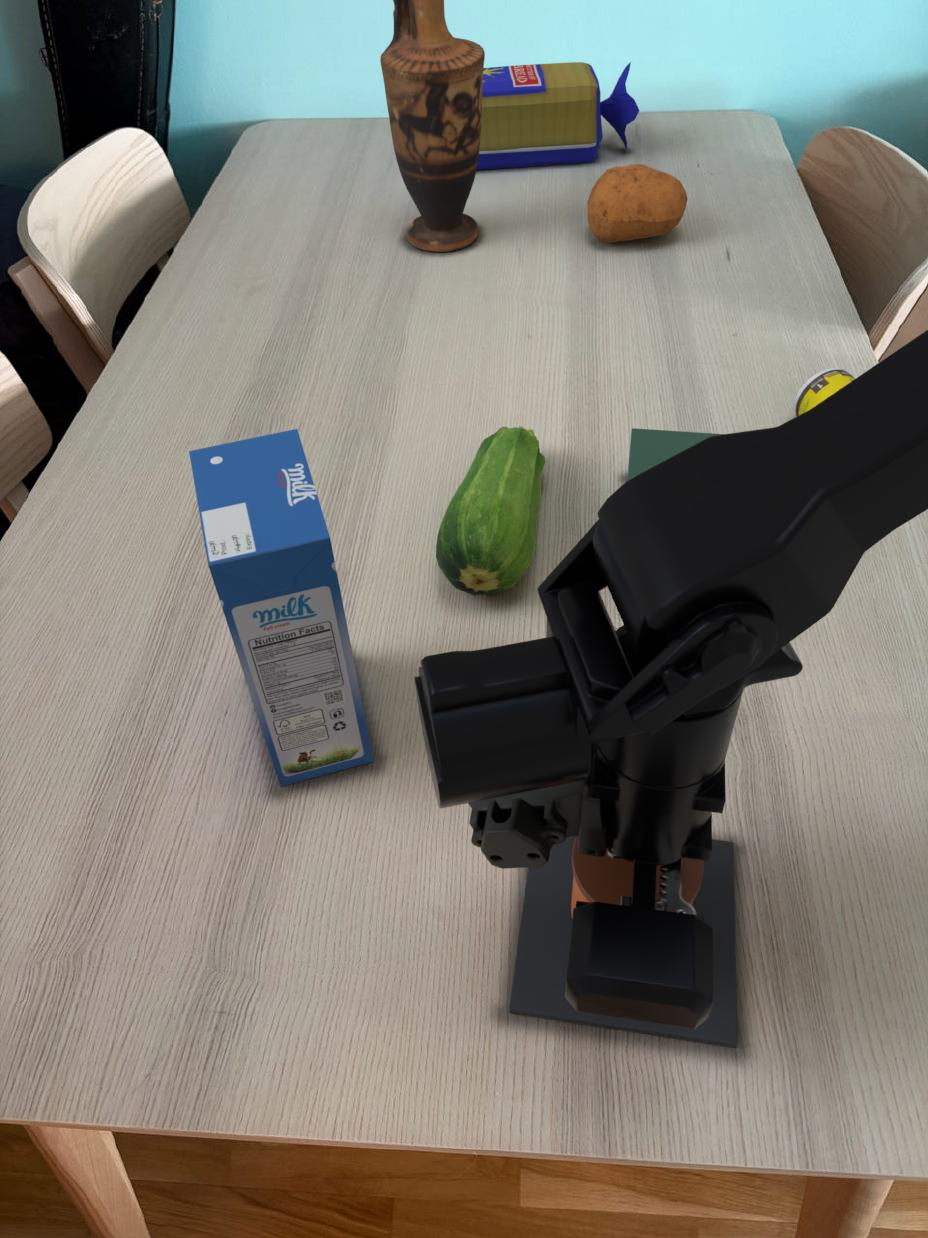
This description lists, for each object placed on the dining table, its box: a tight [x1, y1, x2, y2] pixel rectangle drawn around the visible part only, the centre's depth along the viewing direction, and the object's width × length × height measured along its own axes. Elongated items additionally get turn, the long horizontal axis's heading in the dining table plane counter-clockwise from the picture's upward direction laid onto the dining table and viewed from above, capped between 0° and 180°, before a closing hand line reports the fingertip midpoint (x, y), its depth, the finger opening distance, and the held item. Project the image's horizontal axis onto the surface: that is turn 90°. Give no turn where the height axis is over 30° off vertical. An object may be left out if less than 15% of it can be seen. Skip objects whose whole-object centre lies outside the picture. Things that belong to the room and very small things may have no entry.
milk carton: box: [188, 428, 374, 787], centre depth 60 cm, size 10×6×20 cm, turn 17°
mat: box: [508, 836, 739, 1048], centre depth 56 cm, size 12×12×1 cm
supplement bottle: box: [793, 367, 856, 417], centre depth 82 cm, size 6×6×10 cm
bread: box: [476, 61, 640, 171], centre depth 126 cm, size 10×25×10 cm, turn 93°
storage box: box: [626, 428, 724, 482], centre depth 77 cm, size 12×9×5 cm
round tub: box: [571, 836, 703, 917], centre depth 52 cm, size 7×7×6 cm
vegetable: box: [435, 426, 547, 597], centre depth 77 cm, size 7×7×20 cm
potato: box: [586, 163, 688, 243], centre depth 110 cm, size 9×11×8 cm
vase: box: [379, 0, 486, 253], centre depth 104 cm, size 11×11×30 cm
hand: (631, 901), depth 54 cm, fingers closed on round tub, 6 cm apart
